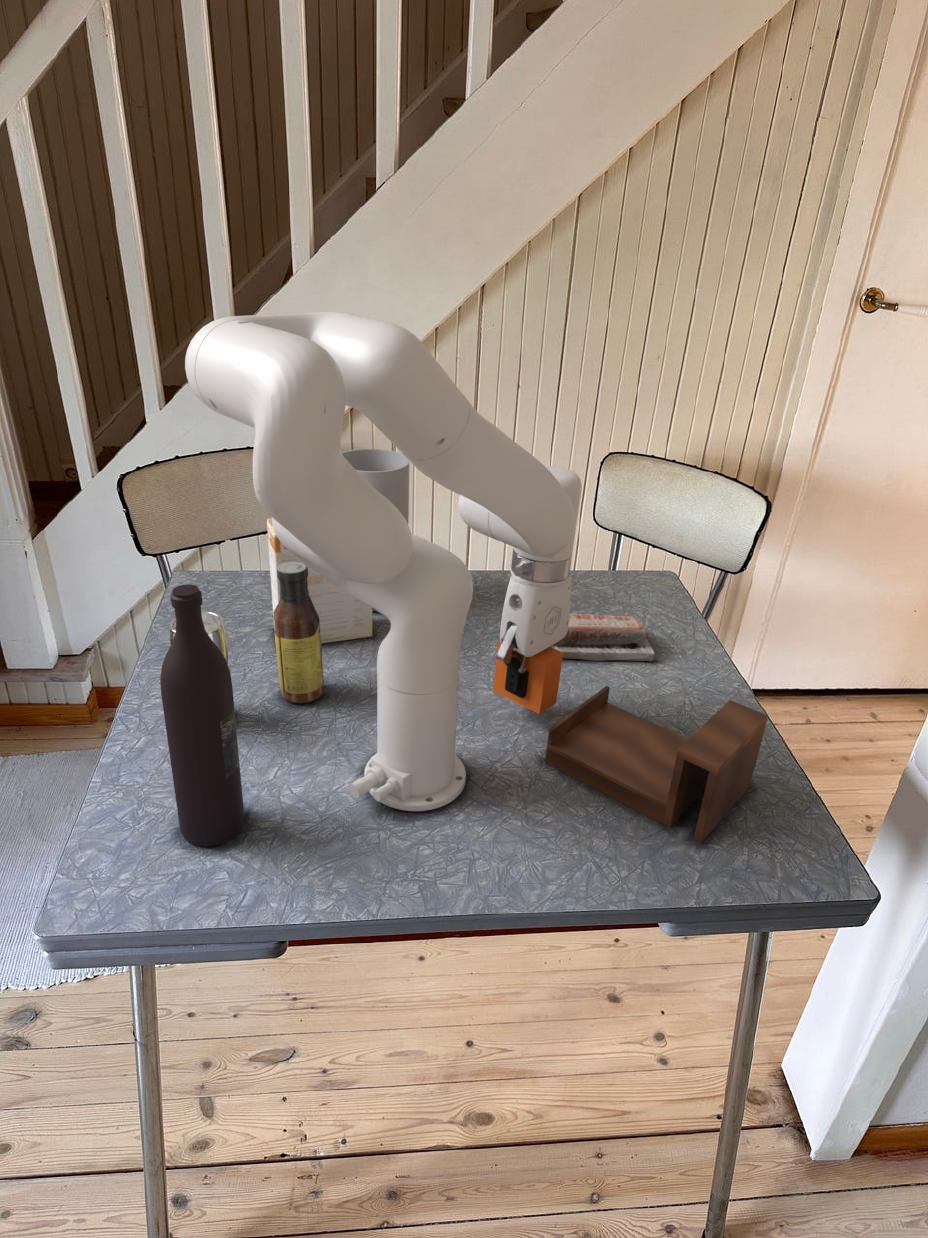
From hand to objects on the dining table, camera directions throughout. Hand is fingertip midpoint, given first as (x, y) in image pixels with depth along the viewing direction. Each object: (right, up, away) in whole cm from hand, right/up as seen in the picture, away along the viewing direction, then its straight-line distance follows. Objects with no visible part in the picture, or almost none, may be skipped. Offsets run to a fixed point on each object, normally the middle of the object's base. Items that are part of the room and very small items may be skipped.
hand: (525, 686), depth 115 cm
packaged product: (+13, +5, +22) cm, 26 cm away
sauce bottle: (-32, -2, +5) cm, 32 cm away
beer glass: (-43, -5, -1) cm, 44 cm away
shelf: (+15, -11, -7) cm, 20 cm away
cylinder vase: (-25, +13, +34) cm, 44 cm away
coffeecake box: (-31, +7, +21) cm, 38 cm away
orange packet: (0, -2, +1) cm, 2 cm away
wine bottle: (-37, -15, -20) cm, 44 cm away
